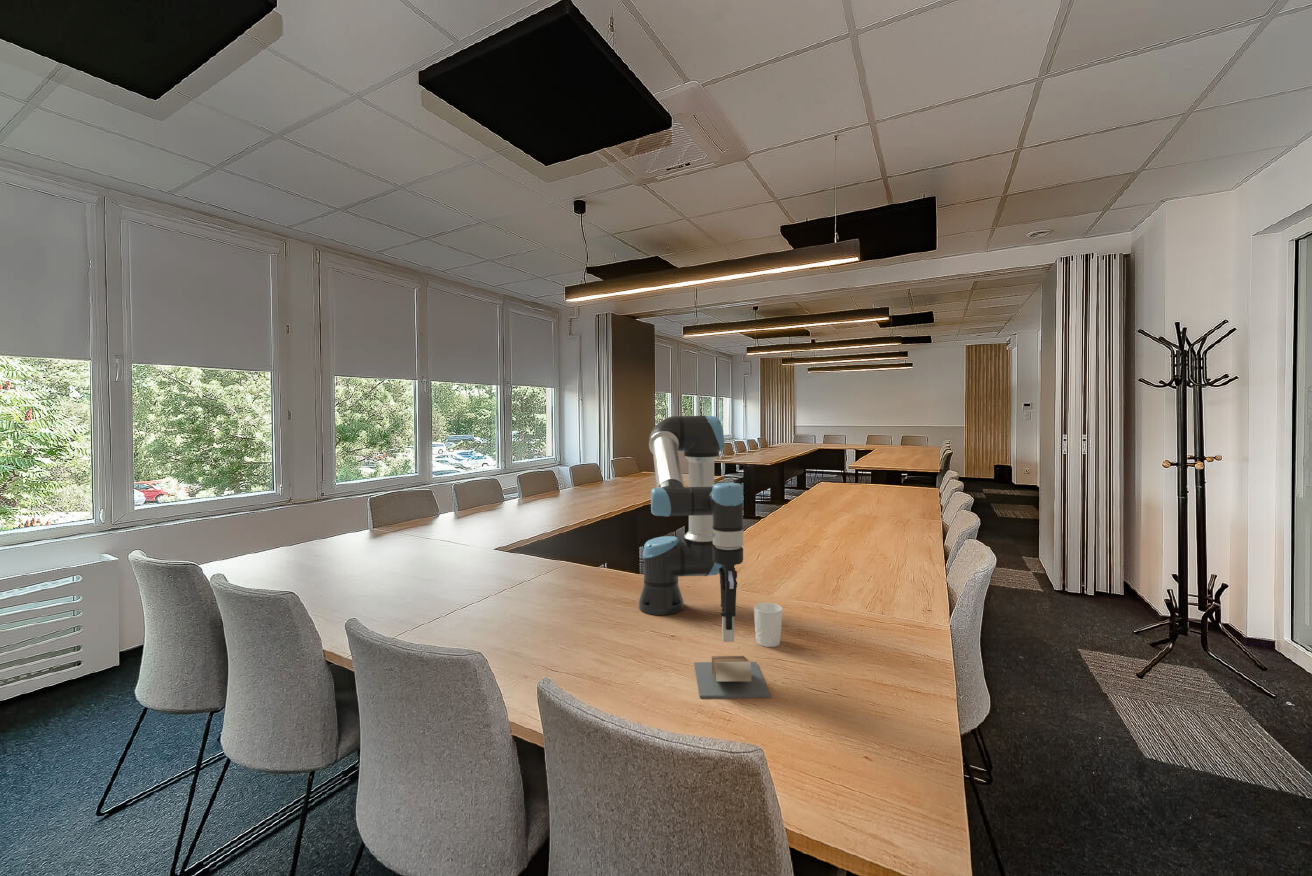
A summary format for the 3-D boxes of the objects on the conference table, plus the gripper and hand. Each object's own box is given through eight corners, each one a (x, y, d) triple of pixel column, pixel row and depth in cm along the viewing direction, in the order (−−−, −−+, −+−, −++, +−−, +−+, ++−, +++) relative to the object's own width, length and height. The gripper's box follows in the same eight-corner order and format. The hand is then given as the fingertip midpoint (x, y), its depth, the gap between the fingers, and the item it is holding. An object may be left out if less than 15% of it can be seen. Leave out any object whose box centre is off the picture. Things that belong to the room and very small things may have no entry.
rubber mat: (694, 664, 132) (694, 662, 132) (756, 664, 132) (756, 661, 132) (699, 698, 116) (699, 695, 116) (770, 697, 116) (770, 695, 116)
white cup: (761, 650, 140) (761, 614, 140) (749, 638, 148) (749, 604, 148) (787, 646, 142) (787, 611, 142) (773, 635, 150) (773, 601, 150)
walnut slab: (711, 656, 127) (715, 662, 118) (743, 655, 127) (750, 662, 118) (712, 673, 126) (716, 681, 117) (744, 673, 126) (751, 681, 117)
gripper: (709, 540, 132) (710, 630, 133) (715, 552, 119) (716, 652, 120) (738, 539, 132) (738, 629, 133) (747, 552, 119) (748, 652, 120)
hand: (728, 640), depth 126 cm, fingers closed
